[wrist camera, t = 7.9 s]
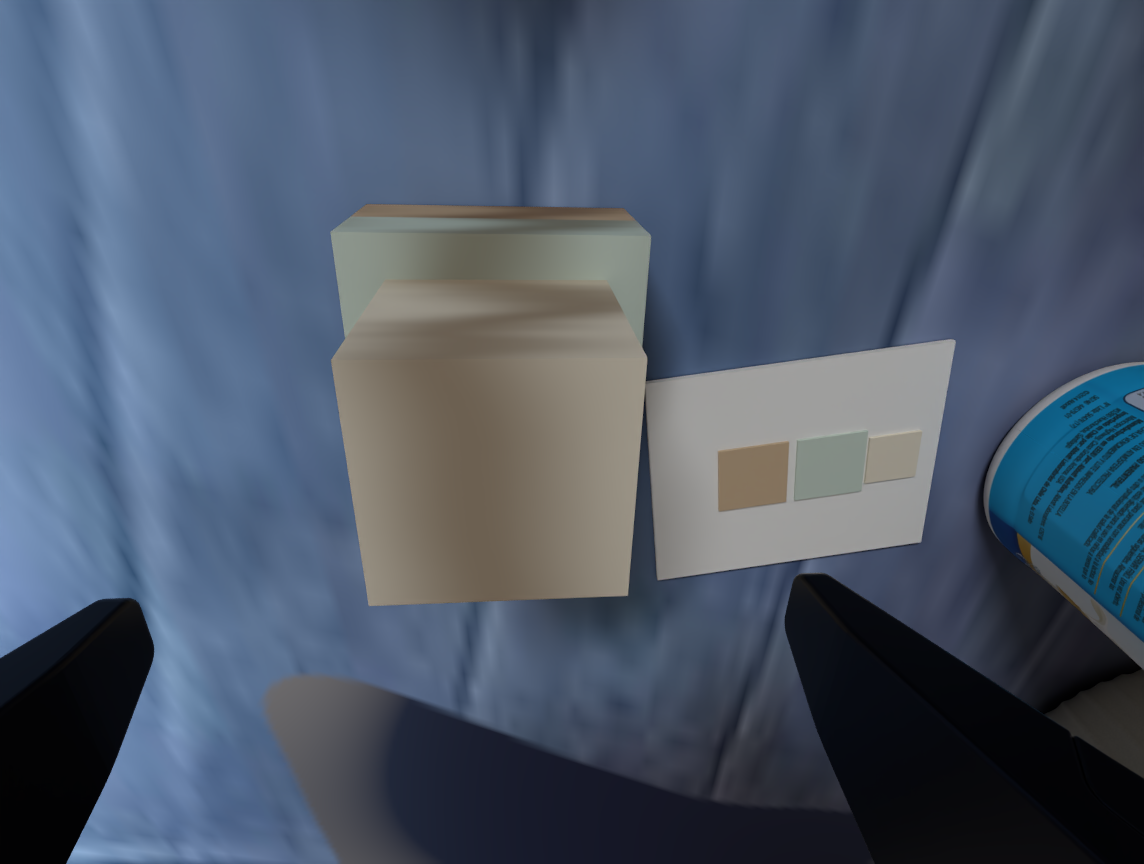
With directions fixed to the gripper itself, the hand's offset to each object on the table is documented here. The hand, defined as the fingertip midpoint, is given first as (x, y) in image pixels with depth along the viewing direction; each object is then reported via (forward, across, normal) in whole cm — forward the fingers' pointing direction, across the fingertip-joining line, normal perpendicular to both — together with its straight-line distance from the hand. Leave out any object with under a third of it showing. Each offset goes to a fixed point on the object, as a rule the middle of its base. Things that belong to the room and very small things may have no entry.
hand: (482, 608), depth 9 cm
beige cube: (+8, 0, 0) cm, 8 cm away
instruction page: (+12, -10, +5) cm, 16 cm away
